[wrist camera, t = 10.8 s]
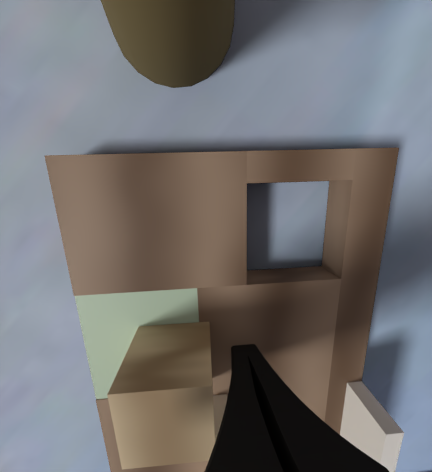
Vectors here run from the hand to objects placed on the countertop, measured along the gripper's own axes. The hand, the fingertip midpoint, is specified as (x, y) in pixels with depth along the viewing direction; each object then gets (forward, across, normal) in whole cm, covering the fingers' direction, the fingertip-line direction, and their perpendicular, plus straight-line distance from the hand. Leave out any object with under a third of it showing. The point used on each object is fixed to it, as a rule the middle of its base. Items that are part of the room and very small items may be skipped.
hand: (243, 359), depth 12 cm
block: (+1, +4, 0) cm, 4 cm away
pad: (+3, +6, 0) cm, 6 cm away
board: (+3, 0, +2) cm, 4 cm away
